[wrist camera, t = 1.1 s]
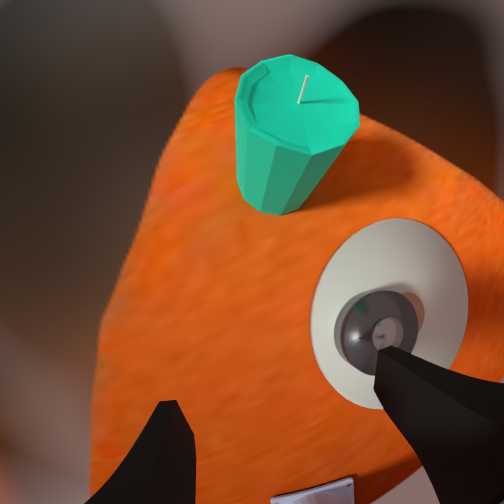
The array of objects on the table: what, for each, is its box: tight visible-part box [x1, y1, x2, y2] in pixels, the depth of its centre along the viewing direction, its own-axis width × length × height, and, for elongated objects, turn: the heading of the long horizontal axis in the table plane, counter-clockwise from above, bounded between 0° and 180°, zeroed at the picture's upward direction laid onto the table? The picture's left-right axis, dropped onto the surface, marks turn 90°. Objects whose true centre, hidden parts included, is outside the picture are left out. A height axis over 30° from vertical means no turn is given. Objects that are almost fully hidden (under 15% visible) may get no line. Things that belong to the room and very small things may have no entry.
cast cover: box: [334, 291, 418, 376], centre depth 18 cm, size 6×6×3 cm
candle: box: [235, 54, 360, 215], centre depth 16 cm, size 6×6×12 cm
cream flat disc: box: [309, 218, 468, 409], centre depth 20 cm, size 16×16×1 cm
